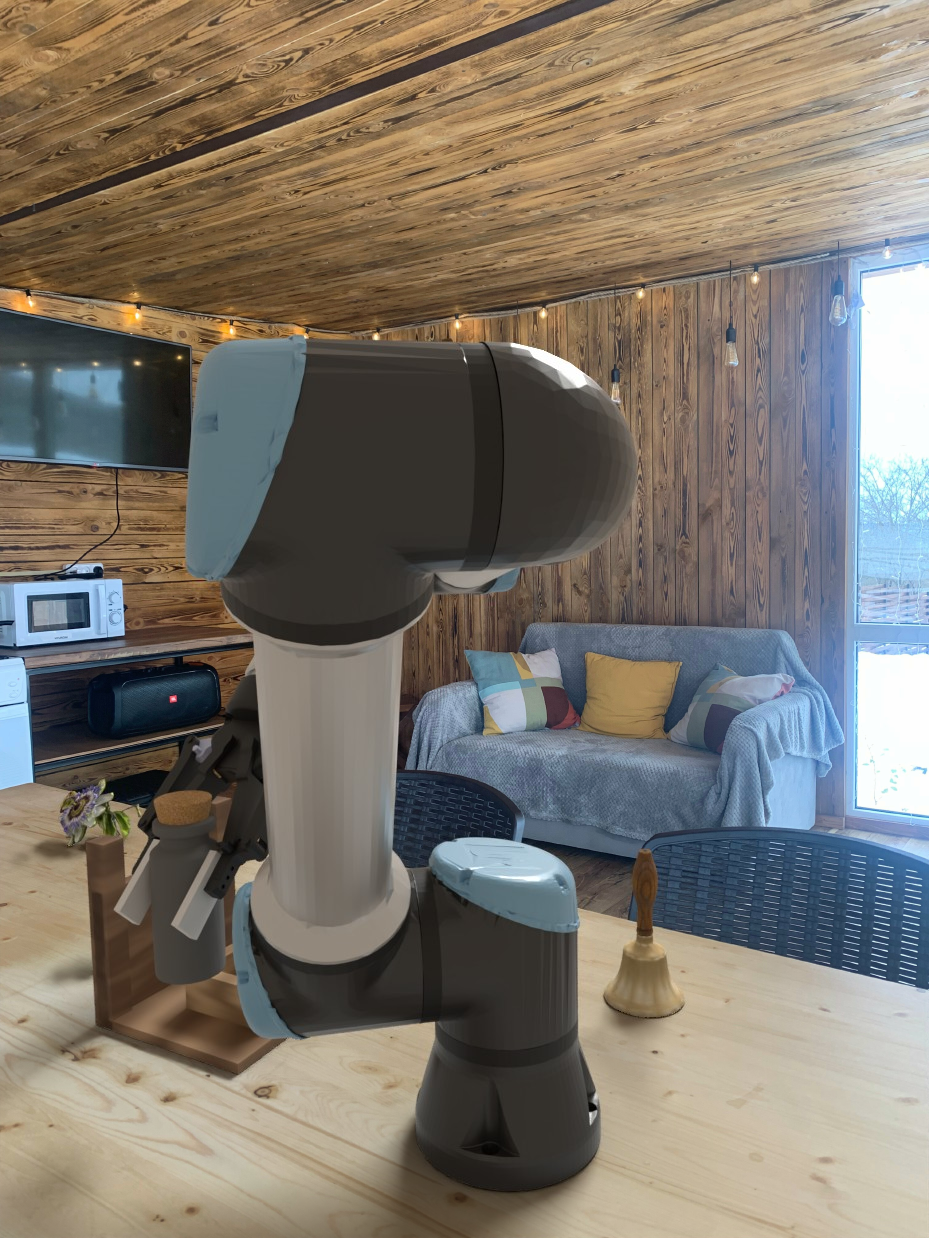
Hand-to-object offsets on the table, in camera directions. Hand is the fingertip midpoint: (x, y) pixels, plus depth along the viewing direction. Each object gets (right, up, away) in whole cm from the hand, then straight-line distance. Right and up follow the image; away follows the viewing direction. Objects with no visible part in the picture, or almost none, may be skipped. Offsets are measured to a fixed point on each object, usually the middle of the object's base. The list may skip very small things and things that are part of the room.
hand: (154, 924), depth 75 cm
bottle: (+2, -5, +4) cm, 7 cm away
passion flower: (-35, -12, +76) cm, 85 cm away
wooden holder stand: (+1, -16, +21) cm, 26 cm away
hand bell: (+44, -15, +22) cm, 51 cm away
